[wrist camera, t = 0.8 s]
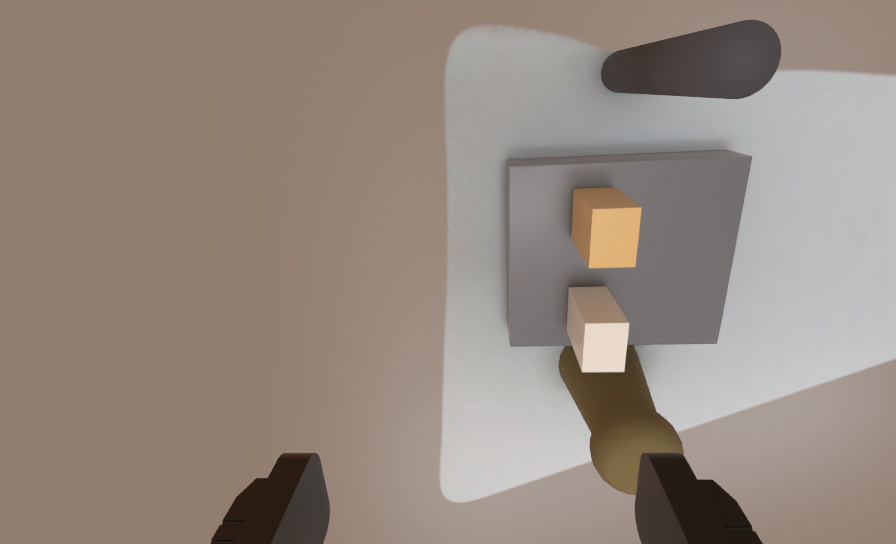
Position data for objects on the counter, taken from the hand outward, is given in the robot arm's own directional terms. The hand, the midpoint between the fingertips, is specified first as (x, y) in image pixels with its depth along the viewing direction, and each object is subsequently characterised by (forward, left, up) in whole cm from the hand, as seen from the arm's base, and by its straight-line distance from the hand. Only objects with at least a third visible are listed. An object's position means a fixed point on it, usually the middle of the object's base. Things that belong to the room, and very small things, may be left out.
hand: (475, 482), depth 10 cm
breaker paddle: (-7, 0, -20) cm, 22 cm away
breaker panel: (-9, +3, -24) cm, 26 cm away
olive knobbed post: (-9, +13, -24) cm, 29 cm away
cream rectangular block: (-7, +6, -20) cm, 22 cm away
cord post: (-9, -8, -24) cm, 27 cm away
